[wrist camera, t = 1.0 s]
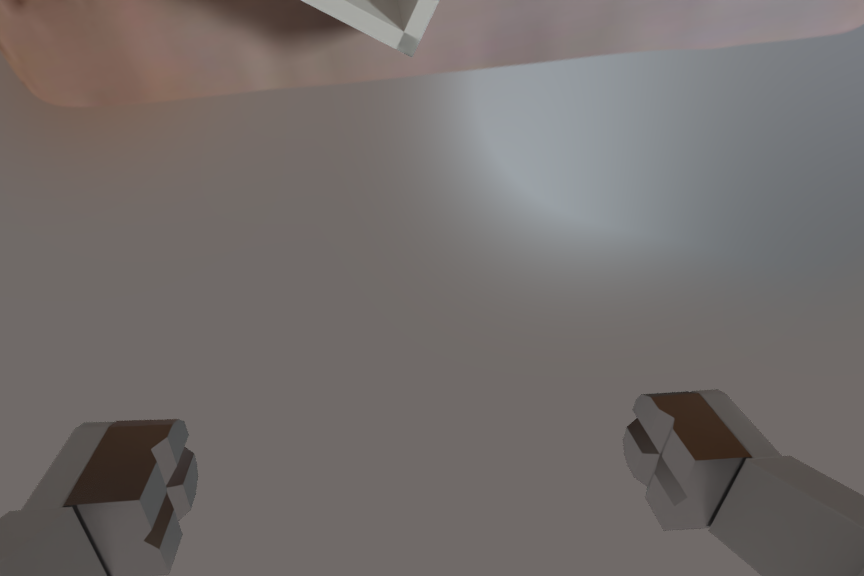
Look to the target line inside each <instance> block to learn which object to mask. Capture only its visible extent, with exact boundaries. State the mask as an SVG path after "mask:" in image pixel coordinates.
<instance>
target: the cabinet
mask: <svg viewBox="0 0 864 576" xmlns="http://www.w3.org/2000/svg"><path fill="white" fill-rule="evenodd" d="M301 1H303V2H305V3H307V4H309V5H311V6H313V7H315V8H317V9H319V10H321V11H322V12H324V13H326V14H328V15H330V16H332V17H334V18H336V19H338V20H340V21H342V22H344V23H346V24H348V25H350V26H352V27H354V28H356V29H358V30H360V31H361V32H363V33H365V34H367V35H369V36H371V37H373V38H375V39H377V40H379V41H381V42H383V43H385V44H387V45H389V46H391V47H393V48H395V49H397V50H399V51H400V52H402V53H404V54H406V55H408V56H410V57H413V55H414V53H415V50H416V48H417V46H418V44H419V42H420V40H421V38H422V36H423V34H424V31H425V29H426V27H427V25H428V23H429V21H430V19H431V17H432V15H433V13H434V10H435V8H436V6H437V4H438V2H439V0H301Z"/></svg>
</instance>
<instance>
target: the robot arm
mask: <svg viewBox="0 0 864 576" xmlns="http://www.w3.org/2000/svg"><path fill="white" fill-rule="evenodd" d="M633 411H634V413H635V415H636V417H637V418H636V419H635V420H634V421H633V422H632V423H631V424H630V425H628V426H627V428H626V432H625V435H624V438H623V444H624V445H623V446H624V456H625V459H626V462H627V465H628V467H629V469H630V471H631V473H632V474H633V476H634V478H636V479H637V480H639V481H640V482H641V483H643V484H645V485H646V486H647V492H646V496H645V498H646V500H647V502H648V504H649V505H650V507H651V509H652V511H653V513H654V514H655V516H656V518H657V520H658V522H659V523H660V525H661V527H662V529H663V530H664V531H666V530H684V529H701V528H709V531H710V532H711V533H712V534H713V535H714V536H715V537H717V538H718V539H719V540H720V541H721V542H723V543H724V544H725V545H726V546H727V547H728V548H730V549H731V550H732V551H733V552H734V553H736V554H737V555H738V556H739V557H740V558H742V559H743V560H744V561H745V562H746V563H747V564H749V565H750V566H751V567H752V568H753V569H754V570H756V571H757V572H758V573H759V574H760V575H762V576H864V496H863V495H861V494H859V493H858V492H856V491H854V490H852V489H850V488H848V487H846V486H844V485H843V484H841V483H839V482H837V481H836V480H834V479H832V478H830V477H828V476H826V475H825V474H823V473H821V472H819V471H817V470H815V469H814V468H812V467H810V466H808V465H806V464H804V463H802V462H800V461H799V460H797V459H795V458H793V457H792V456H782V455H781V454H780V453H779V452H778V451H777V450H776V449H775V448H774V446H773V445H772V444H771V443H770V442H769V441H768V440H767V439H766V438H765V437H764V435H763V434H762V433H761V432H760V431H759V430H758V429H757V428H756V426H755V425H754V424H753V423H752V422H751V421H750V420H749V419H748V418H747V416H746V415H745V414H744V413H743V412H742V411H741V410H740V409H739V408H738V407H737V405H736V404H735V403H734V402H733V401H732V400H731V399H730V398H729V396H728V395H727V394H725V393H724V392H722V391H720V390H718V389H716V390H700V391H691V392H688V391H686V392H670V393H655V394H641V395H640V396H639V397H638V398H637V399H636V401H635V404H634V407H633ZM188 435H189V434H188V431H187V428H186V425H185V422H184V421H182V420H180V419H167V420H132V421H116V422H86V423H83V424H81V425H80V426H79V427H77V428H75V429H74V431H73V432H72V434H71V435H70V437H69V438H68V440H67V441H66V443H65V444H64V446H63V447H62V449H61V450H60V452H59V453H58V455H57V456H56V458H55V459H54V461H53V462H52V464H51V465H50V467H49V468H48V470H47V471H46V473H45V474H44V476H43V477H42V479H41V480H40V482H39V483H38V485H37V487H36V488H35V489H34V491H33V492H32V494H31V495H30V497H29V499H28V500H27V502H26V503H25V505H24V506H23V508H22V509H21V510H18V511H9V512H8V513H7V514H5V515H4V516H2V517H1V518H0V576H158V575H167V574H169V573H170V570H171V567H172V564H173V562H174V559H175V556H176V552H177V550H178V546H179V544H180V540H181V537H182V531H181V529H180V525H179V522H178V521H179V520H180V519H181V518H182V517H183V516H184V515H186V514H187V513H188V512H189V511H190V510H191V508H192V504H193V501H194V498H195V495H196V487H197V480H198V471H197V462H196V458H195V455H194V453H193V452H191V451H190V450H188V449H187V448H186V447H185V443H186V441H187V438H188Z"/></svg>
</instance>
